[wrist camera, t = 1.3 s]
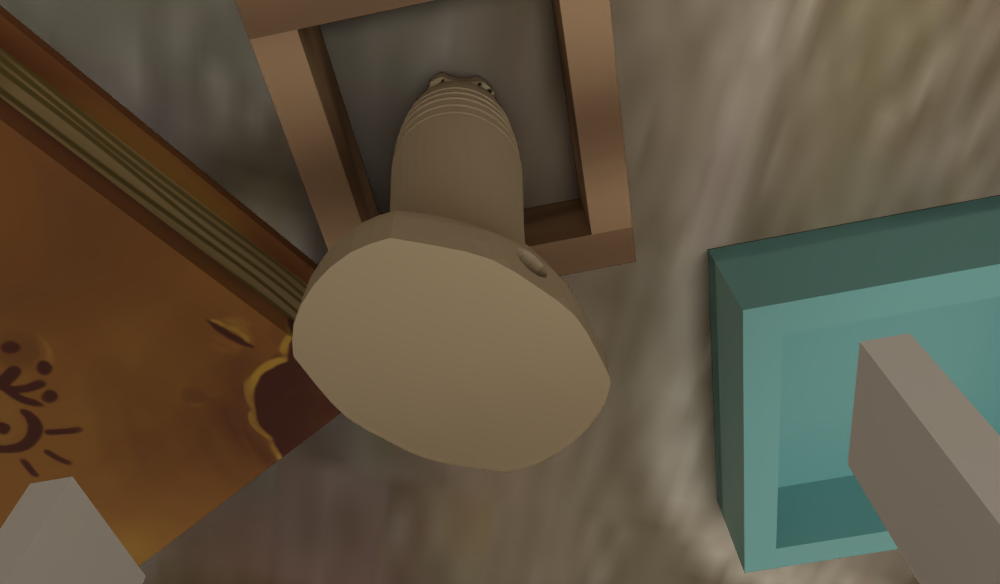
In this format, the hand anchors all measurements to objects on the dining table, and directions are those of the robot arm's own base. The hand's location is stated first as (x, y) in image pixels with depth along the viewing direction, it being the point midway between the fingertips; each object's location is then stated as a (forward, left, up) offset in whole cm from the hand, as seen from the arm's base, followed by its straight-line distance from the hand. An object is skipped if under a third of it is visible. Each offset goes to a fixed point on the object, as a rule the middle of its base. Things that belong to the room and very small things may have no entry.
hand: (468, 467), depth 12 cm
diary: (+6, -20, -18) cm, 28 cm away
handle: (0, 0, -18) cm, 18 cm away
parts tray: (+16, +17, -17) cm, 29 cm away
